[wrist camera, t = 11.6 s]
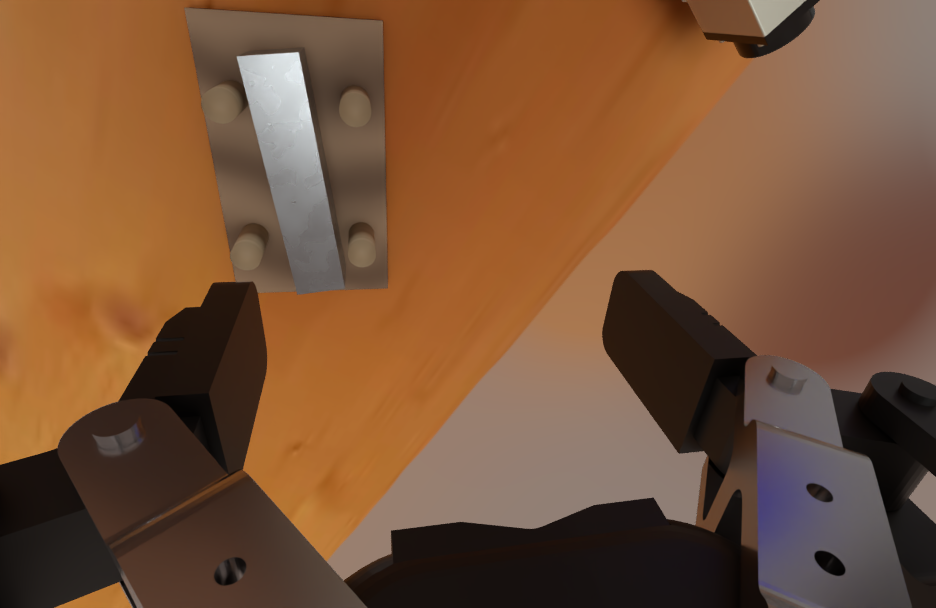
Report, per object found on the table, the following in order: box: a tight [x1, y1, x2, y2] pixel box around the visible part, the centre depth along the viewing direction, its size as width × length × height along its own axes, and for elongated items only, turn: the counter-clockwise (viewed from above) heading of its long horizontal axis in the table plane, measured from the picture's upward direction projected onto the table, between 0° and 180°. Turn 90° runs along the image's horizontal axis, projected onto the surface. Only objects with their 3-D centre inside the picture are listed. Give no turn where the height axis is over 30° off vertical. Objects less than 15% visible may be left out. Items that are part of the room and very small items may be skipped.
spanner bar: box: [237, 47, 346, 295], centre depth 35 cm, size 16×4×4 cm, turn 3°
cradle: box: [184, 8, 388, 293], centre depth 36 cm, size 20×12×5 cm, turn 176°
